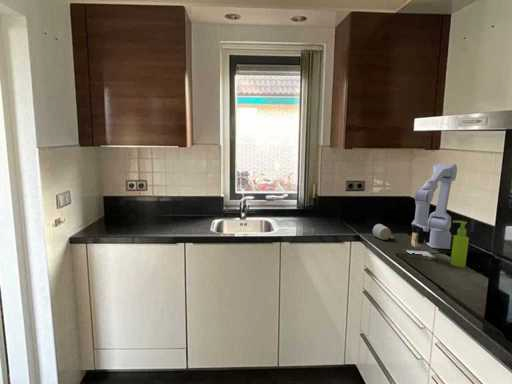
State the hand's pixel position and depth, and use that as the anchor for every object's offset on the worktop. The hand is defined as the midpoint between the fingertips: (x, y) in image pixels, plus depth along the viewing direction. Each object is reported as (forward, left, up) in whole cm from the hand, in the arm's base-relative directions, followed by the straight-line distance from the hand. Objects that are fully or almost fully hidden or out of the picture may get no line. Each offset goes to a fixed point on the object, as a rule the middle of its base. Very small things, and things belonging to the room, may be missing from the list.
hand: (418, 242), depth 164 cm
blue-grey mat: (0, 0, -6) cm, 6 cm away
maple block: (0, 0, -2) cm, 2 cm away
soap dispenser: (-13, +11, -7) cm, 18 cm away
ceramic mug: (+9, -27, -7) cm, 29 cm away
